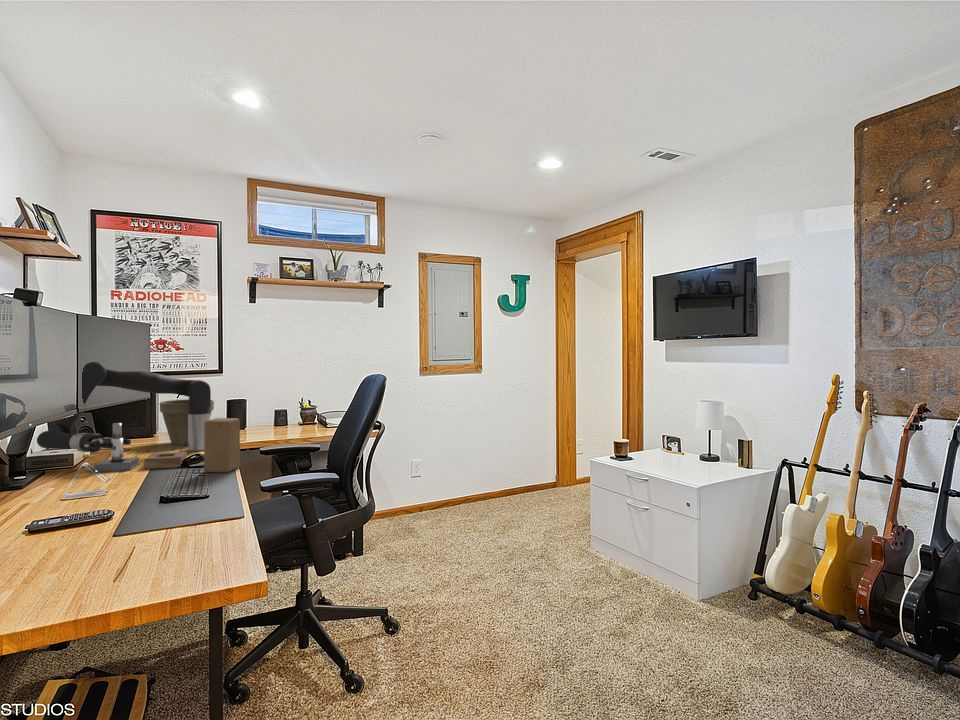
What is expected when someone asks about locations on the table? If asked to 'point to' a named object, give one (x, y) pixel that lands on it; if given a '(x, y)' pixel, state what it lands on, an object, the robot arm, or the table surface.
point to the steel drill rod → (117, 443)
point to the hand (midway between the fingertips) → (121, 443)
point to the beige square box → (164, 460)
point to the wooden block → (221, 444)
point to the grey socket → (117, 465)
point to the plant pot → (177, 419)
